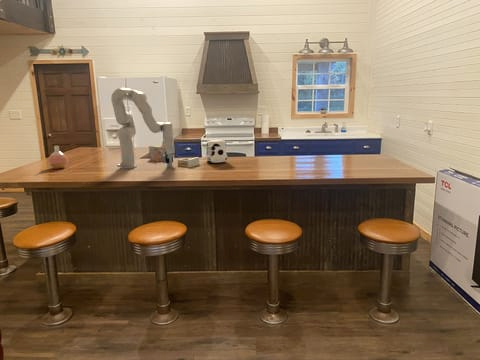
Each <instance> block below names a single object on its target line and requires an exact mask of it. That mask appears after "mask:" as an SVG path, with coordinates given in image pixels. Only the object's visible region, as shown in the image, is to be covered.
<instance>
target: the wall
mask: <svg viewBox="0 0 480 360" xmlns="http://www.w3.org/2000/svg"><path fill="white" fill-rule="evenodd" d="M187 161H188V167H187V168H192V167H196V166H199V165H200V157H198V156H196V157H193V158H192V159H188V160H187Z"/></svg>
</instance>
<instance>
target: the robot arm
mask: <svg viewBox="0 0 480 360" xmlns="http://www.w3.org/2000/svg"><path fill="white" fill-rule="evenodd" d="M110 99H111V103H112V107H113V108H112V109H113V113H114V116H115V120H116V123H117V124H118V125H119V126H120V125H121V127H120V128H119V129H118V131H117V136H118V141H119V148H120V159H121V162H120V163H118V164H117V165H116V166H117V168H120V169H124V170H125V169H128V170H129V169H135V168H137V167H138V165H137V164H135V155H134V154H135V153H134V152H135V151H134V144H133V139H132V138H134V137H135V136H136V133H137V130H136V126H135V122H134V121H135V120H134V118H133V116H132V114H131V112H128V111H127V109H126V106H125V103H124V101H126V100H127V101H131V102H133V103H134V105H135V107H136V108H137V109H138V111H139V112H140V114H141V116H142V119H143V121H144V123H145V125H146V126H147V128H148V129H149V131H150V132H152V133H154V134H158V133H162V144H161V146H162V154H163V156H164V157H165V160H166V161H165V164H167V163H169V154H171V153H172V163H174V155H175V153H176V152H175V142H174V135H173V134H174V133H173V131H174V130H173V123H172V122H160V121H159V122H158V121H157V120H155V118H154V116H153V109H152V107H151V106H150V104H149V103H148V101H147V94H145V93H144V92H142V91H138V90H134V89H131V88H127V87H126V88H125V87H119V88H116V89H115V90H113V93H112V94H111V97H110Z"/></svg>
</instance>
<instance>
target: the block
mask: <svg viewBox="0 0 480 360" xmlns="http://www.w3.org/2000/svg"><path fill="white" fill-rule="evenodd" d="M188 159H192V158H189V157H184V158H180V159H177V166H179V167H187V168H189V167H188V161H187V160H188Z"/></svg>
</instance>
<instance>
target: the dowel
mask: <svg viewBox="0 0 480 360" xmlns="http://www.w3.org/2000/svg"><path fill="white" fill-rule="evenodd" d="M166 167H167V168H172V167H173V162H172V153H171V154H169V163H166Z"/></svg>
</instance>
